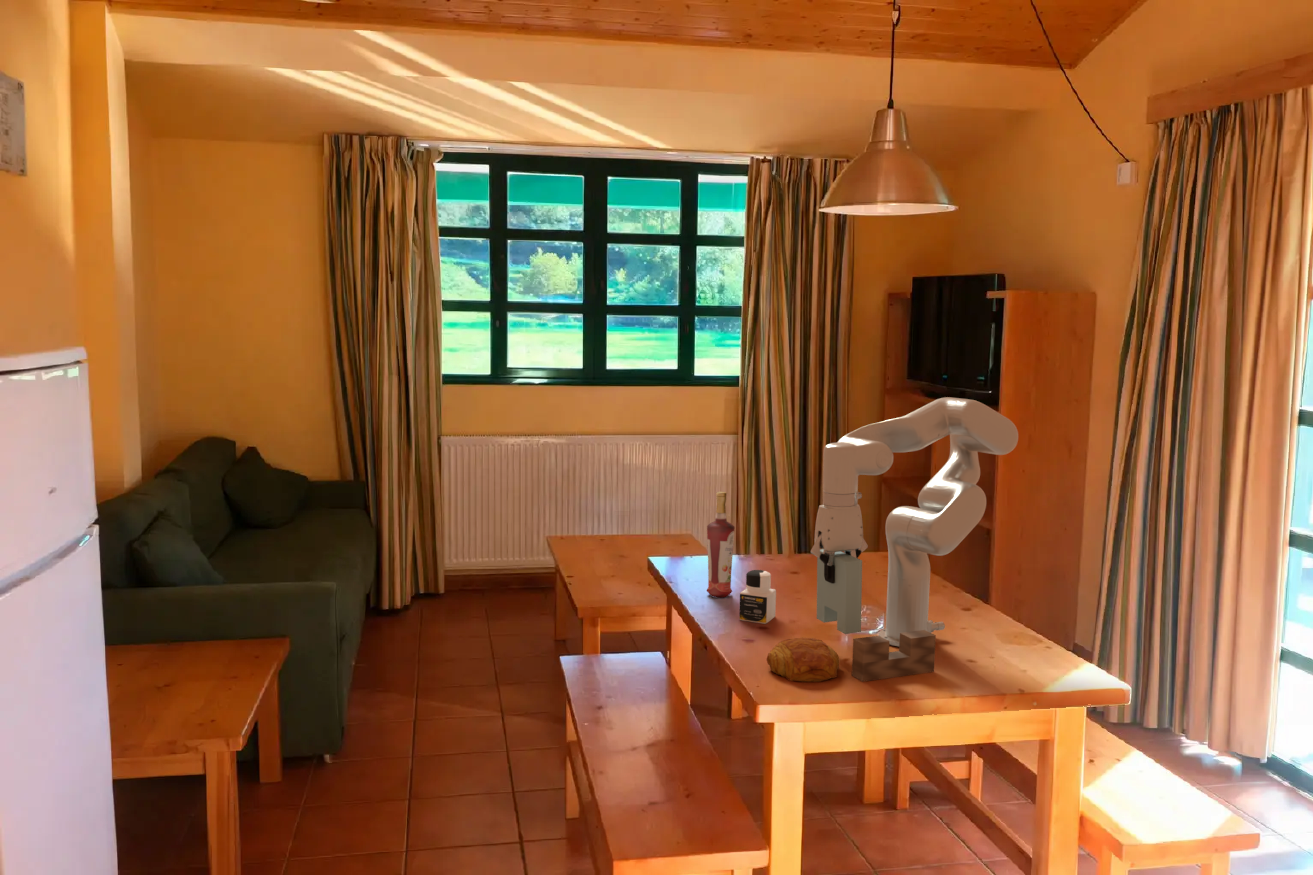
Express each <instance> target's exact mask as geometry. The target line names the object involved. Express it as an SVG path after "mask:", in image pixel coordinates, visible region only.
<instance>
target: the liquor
mask: <svg viewBox="0 0 1313 875" xmlns="http://www.w3.org/2000/svg"><path fill="white" fill-rule="evenodd" d="M727 494H728V493H727V492H726V491H717V492H716V495H715V496H716V497H715V498H716V511H715V512H716V513H715V520H714V521H712V522H710V523H709V524H708V525H707V526H706V532H707V533H706V538H707V540H706V542H707V560H708V561H707V563H708V564H707V569H708V570H707V573H708V575H707V576H708V577H707V578H708V585H707V589H706V592H707V593H708V594H709V595H710V596H711V597H713V598H716V599H717V598H718V599H719V598H720V599H723V598H728V597H729V595H731V594H732V592H733V590H732V588H731V586H732V567H733V554H734V545H735V544H734V543H735V526H734V525H733V524H732V523H731V522H729V521H727V508H726V507H727V506H726V503H727Z"/></svg>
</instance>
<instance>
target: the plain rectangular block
mask: <svg viewBox="0 0 1313 875" xmlns="http://www.w3.org/2000/svg"><path fill="white" fill-rule="evenodd" d="M823 551H824V548H823V549H820V552H821V553H823ZM816 558H817V559H816V560H817V561H816V562H817V563H816V619H817V621H818V620H819V621H820V622H822V623H825V624H826V623H831V622H832V623H833V622H836V630H837V631H838V632H841V633H842V634H844V635H847V634H855V633H856V634H857V633H861V632H862V595H863V594H862V593H863V592H862V591H863V590H862V589H863V588H862V587H863V584H862V583H863V560H862V559H859V557H858V558H855V557H853V556H851V555H848V554H846V553H845V552H844V551H839V552H835V555H834V560H833V565H834V566H835V582H834V583H829V582H827V581H826V580H825V577H824V563H822V561H821V560H820V559H819V558H818V557H817V556H816Z"/></svg>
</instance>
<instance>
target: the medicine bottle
mask: <svg viewBox="0 0 1313 875" xmlns="http://www.w3.org/2000/svg"><path fill="white" fill-rule="evenodd" d="M771 576H772V574H771V573H770V572H769V571H767V570H763V569H751V570H750V571H748V572H746V575H745V578H746V579H745V589H744V590H742V591H740V593H739V617H738V618H739V620H740V621H743V622H750V623H756V624H763V625H767V624H768V623H769V622H771V620H773V619H774V618H775V617H776V610H777V609H776V606H777V604H776V603H777V602H776V601H777V590H776V589H775V588H772V587H771V584H772V583H771V582H772V581H771V580H772V579H771V578H772V577H771Z"/></svg>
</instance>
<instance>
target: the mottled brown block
mask: <svg viewBox="0 0 1313 875" xmlns="http://www.w3.org/2000/svg"><path fill="white" fill-rule="evenodd" d="M936 637H937V636H936V634H933V632H931V633H930V632H928V631H926V630H920V631H912V632H904V633H900V642H899V647H898V650H896V651H890V644H889V641H888V640H886V639H884V638H882V637H880V636H879V635H873V636H872V635H871V636H864V637H858V638H857V637H856V638H853V640H852V661H851V676H852V677H854V678H856V679H857V680H859V681H860V682H863V683H864V682H869V681H877V680H885V679H891V678H897V677H898V678H899V677H906V676H912V675H913V676H914V675H918V674H925V673H931V672H933V673H934V671H935V661H936V660H935V659H936V658H935V656H936V639H937V638H936Z"/></svg>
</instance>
